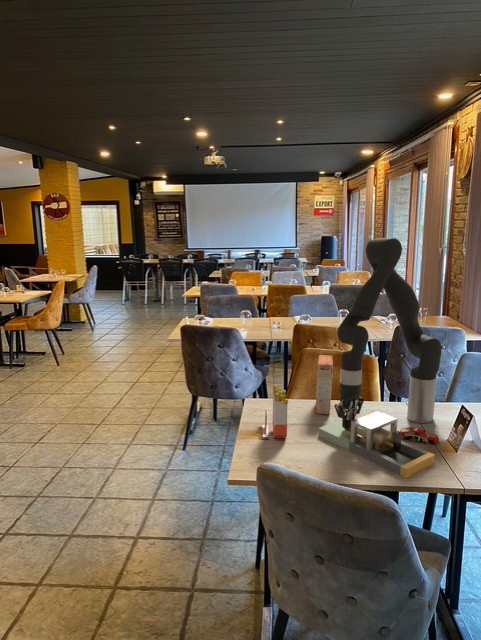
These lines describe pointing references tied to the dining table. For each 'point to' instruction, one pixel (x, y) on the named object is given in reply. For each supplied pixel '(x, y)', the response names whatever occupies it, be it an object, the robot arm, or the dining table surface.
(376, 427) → the steel tunnel
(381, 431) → the ash block
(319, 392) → the cracker box
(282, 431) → the french fries container
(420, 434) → the race car
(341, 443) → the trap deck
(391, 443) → the sled frame
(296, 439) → the dining table surface
